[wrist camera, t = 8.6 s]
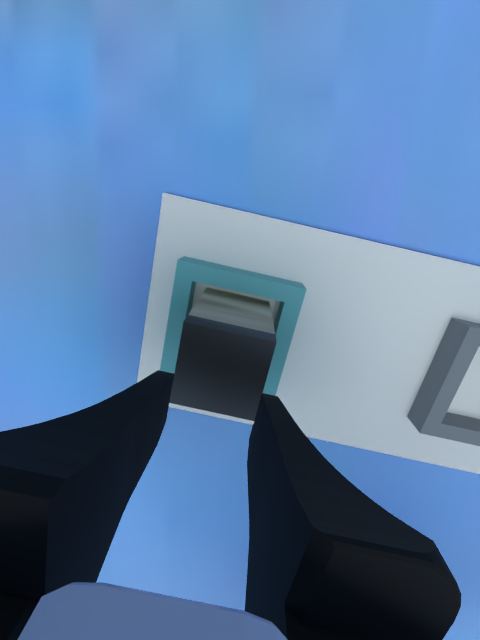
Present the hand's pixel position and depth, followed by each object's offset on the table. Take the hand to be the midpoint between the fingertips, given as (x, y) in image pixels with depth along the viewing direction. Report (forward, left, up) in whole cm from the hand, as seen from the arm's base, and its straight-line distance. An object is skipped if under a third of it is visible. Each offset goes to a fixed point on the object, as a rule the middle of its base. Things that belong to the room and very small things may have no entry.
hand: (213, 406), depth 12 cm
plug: (0, 0, -9) cm, 9 cm away
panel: (0, -9, -10) cm, 14 cm away
